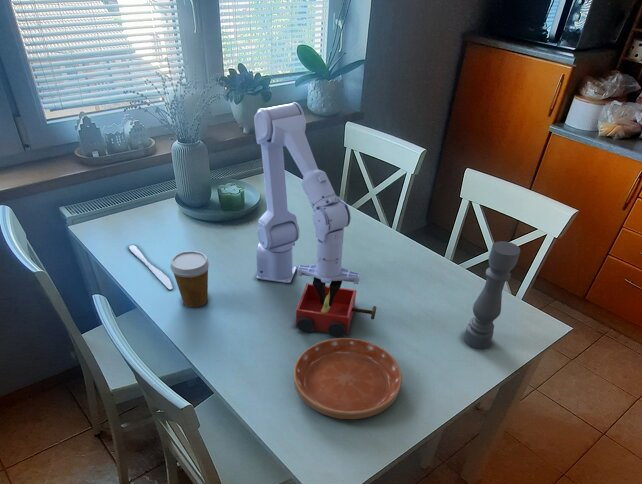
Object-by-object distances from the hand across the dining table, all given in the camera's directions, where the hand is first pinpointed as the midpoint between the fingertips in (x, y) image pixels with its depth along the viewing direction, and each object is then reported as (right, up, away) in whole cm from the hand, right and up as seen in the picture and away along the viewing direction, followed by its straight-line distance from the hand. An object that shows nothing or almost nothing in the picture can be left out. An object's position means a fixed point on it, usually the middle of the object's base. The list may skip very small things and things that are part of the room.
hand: (326, 303), depth 126 cm
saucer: (+4, -19, -14) cm, 24 cm away
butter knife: (-48, +12, +19) cm, 53 cm away
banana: (0, -2, +1) cm, 2 cm away
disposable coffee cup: (-34, +1, +7) cm, 35 cm away
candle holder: (+36, -9, -3) cm, 37 cm away
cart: (0, -3, +3) cm, 4 cm away
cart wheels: (+3, -4, +2) cm, 5 cm away
